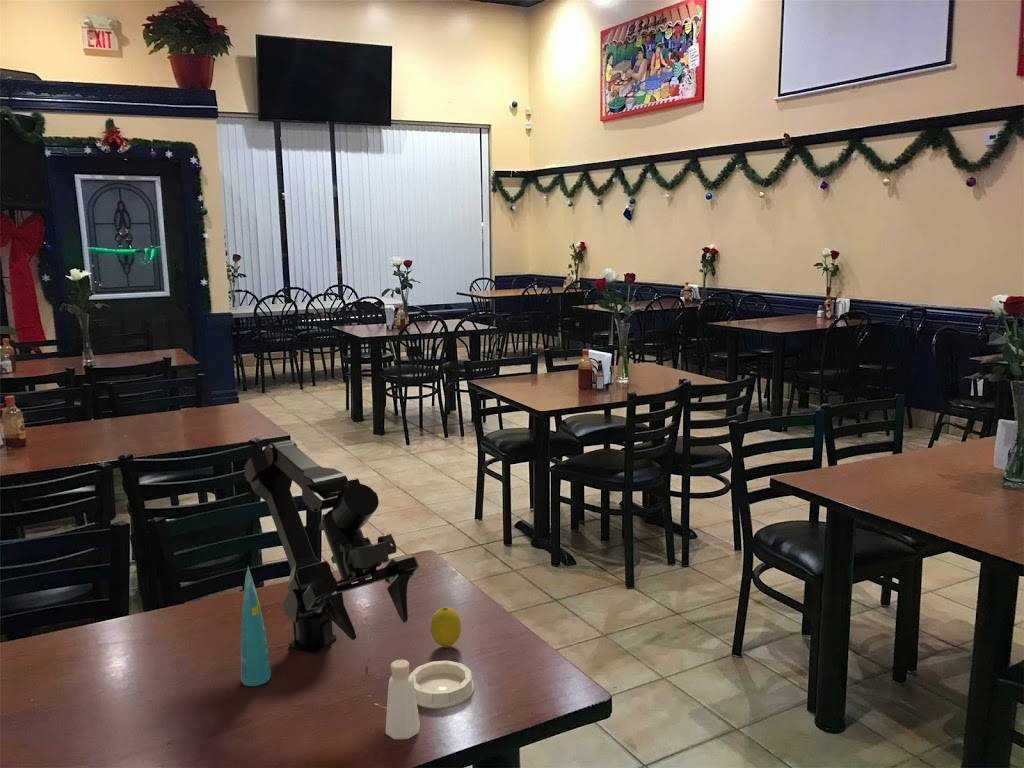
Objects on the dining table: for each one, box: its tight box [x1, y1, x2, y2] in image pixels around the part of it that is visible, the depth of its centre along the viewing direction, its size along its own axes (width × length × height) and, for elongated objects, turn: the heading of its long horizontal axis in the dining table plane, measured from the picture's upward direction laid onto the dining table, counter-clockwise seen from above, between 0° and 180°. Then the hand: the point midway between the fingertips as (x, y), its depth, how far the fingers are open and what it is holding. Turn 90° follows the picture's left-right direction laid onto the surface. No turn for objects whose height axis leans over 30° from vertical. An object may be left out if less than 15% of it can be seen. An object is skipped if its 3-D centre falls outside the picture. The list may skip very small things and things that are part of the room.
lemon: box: [430, 605, 462, 649], centre depth 148 cm, size 6×6×8 cm
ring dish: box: [409, 660, 475, 710], centre depth 134 cm, size 11×11×2 cm
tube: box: [240, 565, 272, 687], centre depth 137 cm, size 7×5×19 cm, turn 26°
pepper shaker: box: [385, 659, 421, 740], centre depth 123 cm, size 5×5×11 cm
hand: (380, 630), depth 129 cm, fingers open, 9 cm apart
